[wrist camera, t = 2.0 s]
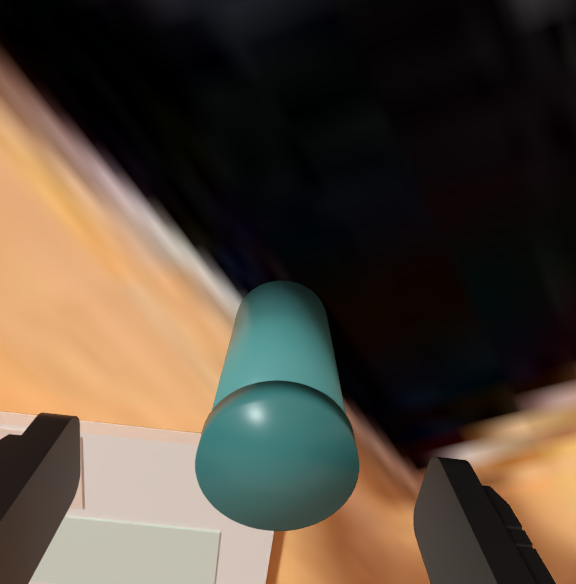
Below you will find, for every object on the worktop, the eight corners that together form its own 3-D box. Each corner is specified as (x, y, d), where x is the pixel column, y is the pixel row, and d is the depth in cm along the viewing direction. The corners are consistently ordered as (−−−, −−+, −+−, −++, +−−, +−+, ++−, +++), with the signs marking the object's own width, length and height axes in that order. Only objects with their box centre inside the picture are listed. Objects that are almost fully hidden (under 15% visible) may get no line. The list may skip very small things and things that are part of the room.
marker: (336, 281, 18) (373, 410, 10) (321, 365, 19) (343, 538, 11) (239, 268, 18) (200, 391, 10) (230, 355, 19) (190, 522, 11)
